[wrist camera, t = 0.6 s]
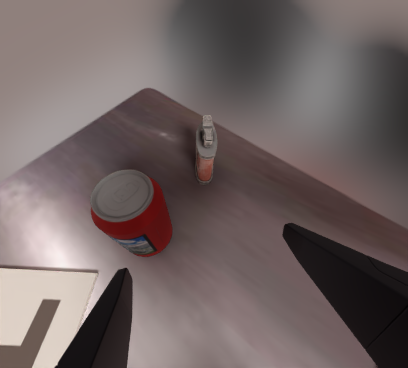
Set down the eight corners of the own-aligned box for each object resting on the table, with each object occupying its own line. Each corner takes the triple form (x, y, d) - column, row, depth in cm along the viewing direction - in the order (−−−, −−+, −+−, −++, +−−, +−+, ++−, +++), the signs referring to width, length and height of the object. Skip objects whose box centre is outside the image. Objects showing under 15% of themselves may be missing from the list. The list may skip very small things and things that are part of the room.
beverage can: (116, 237, 24) (64, 196, 14) (151, 205, 28) (129, 153, 18) (148, 269, 22) (113, 247, 12) (182, 230, 25) (175, 188, 16)
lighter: (195, 152, 35) (196, 107, 27) (211, 153, 35) (217, 108, 27) (195, 184, 30) (196, 142, 22) (213, 184, 31) (221, 143, 22)
